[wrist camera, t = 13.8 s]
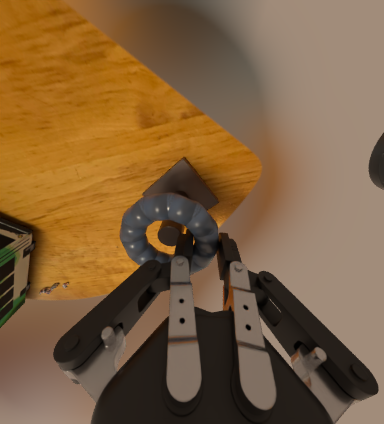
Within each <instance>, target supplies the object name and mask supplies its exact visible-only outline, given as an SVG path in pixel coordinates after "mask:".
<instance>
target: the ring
mask: <svg viewBox="0 0 384 424" xmlns="http://www.w3.org/2000/svg"><path fill="white" fill-rule="evenodd" d="M162 220H171V221H174V222H177V223H180V224H182V225H185V226H186V227H187V228H188V229H189V231H190V232H191V233H192V234H193V235H194V241H195V243H194V245H193V256H192V264H191V272H190V275H191V274H194V273H196V272H198V271H200V270H202V269H204V268H206V267H207V266H208V265H209V264H210V262H211V261H212V259H213V258H214V256H215V254H216V253H217V251H218V249H219V236H218V226H217V223H216V221H215V220H214V219H213V218H212V216H211V215H210V214H209V213H208V212H207V211H206V209H205V208H204V207H203V206H202V205H201V204H200V203H199V202H197V201H194V200H192V199H189V198H186V197H184V196H181V195H178V194H176V193H162V194H154V195H147V196H144V197H142V198H141V199H139V200H138V201H137V202H136V203H135V204H134V205H132V206H131V207H130V208H129V209H128V210H127V211H126V212H125V213H124V215H123V218H122V224H121V229H120V239H121V242H122V244H123V246H124V248H125V250H126V252H127V254H128V256H129V257H130V258H131V259H132V260H133V261H135V262H136V263H137V264H138V265H140V266H141V265H143V264H144V263H145V262H146V261H148V260H152V259H154V260H158V261H159V262H160V263H167V262H169V261H171V260H172V259H173V257H174V254H171V255H170V254H167V253H164V252H161V251H158V250H157V249H156V248H155V247H153V246H152V245H151V244H150V243H149V242H148V239H147V236H146V234H145V233H146V230H147V227H148V226H149V225H150V224H152V223H153V222H154V221H162Z"/></svg>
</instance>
